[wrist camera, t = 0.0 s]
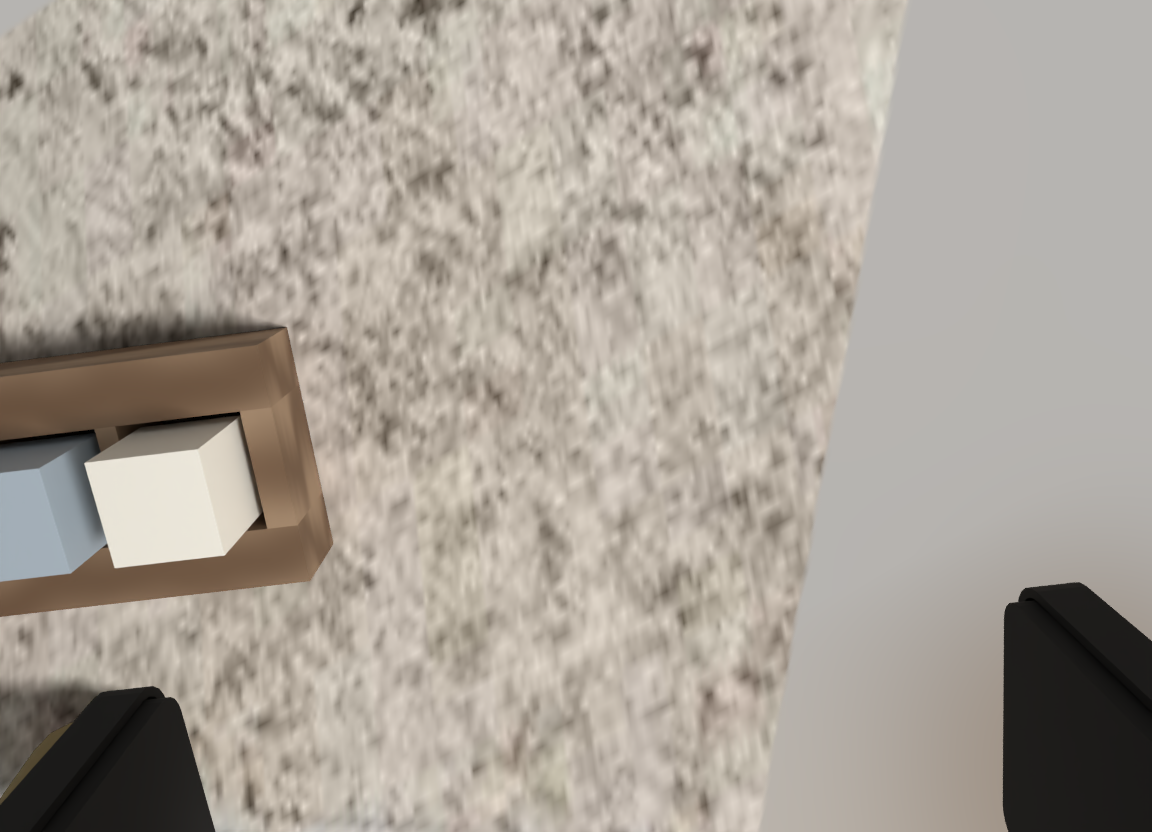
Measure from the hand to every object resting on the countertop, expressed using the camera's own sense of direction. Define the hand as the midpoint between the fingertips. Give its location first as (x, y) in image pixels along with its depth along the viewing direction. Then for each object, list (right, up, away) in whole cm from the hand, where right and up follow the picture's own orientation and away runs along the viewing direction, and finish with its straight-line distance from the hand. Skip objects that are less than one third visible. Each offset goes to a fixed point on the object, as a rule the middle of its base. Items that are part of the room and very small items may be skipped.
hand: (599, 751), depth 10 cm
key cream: (-19, +1, +35) cm, 39 cm away
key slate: (-26, 0, +35) cm, 43 cm away
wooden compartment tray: (-26, +1, +38) cm, 46 cm away
